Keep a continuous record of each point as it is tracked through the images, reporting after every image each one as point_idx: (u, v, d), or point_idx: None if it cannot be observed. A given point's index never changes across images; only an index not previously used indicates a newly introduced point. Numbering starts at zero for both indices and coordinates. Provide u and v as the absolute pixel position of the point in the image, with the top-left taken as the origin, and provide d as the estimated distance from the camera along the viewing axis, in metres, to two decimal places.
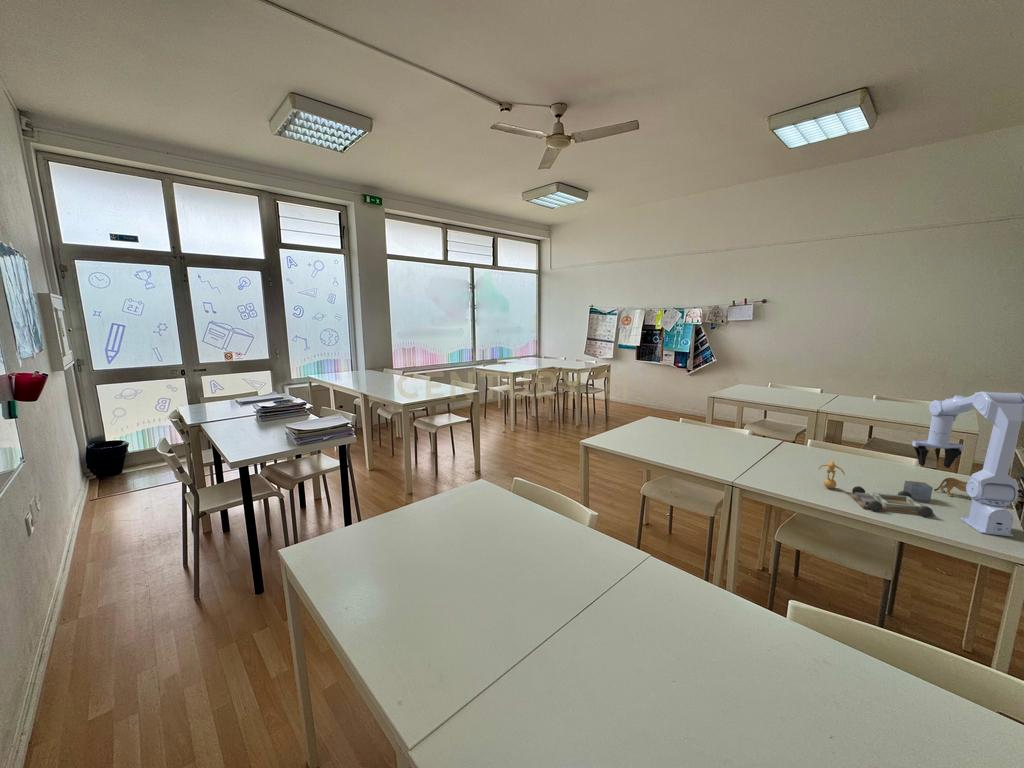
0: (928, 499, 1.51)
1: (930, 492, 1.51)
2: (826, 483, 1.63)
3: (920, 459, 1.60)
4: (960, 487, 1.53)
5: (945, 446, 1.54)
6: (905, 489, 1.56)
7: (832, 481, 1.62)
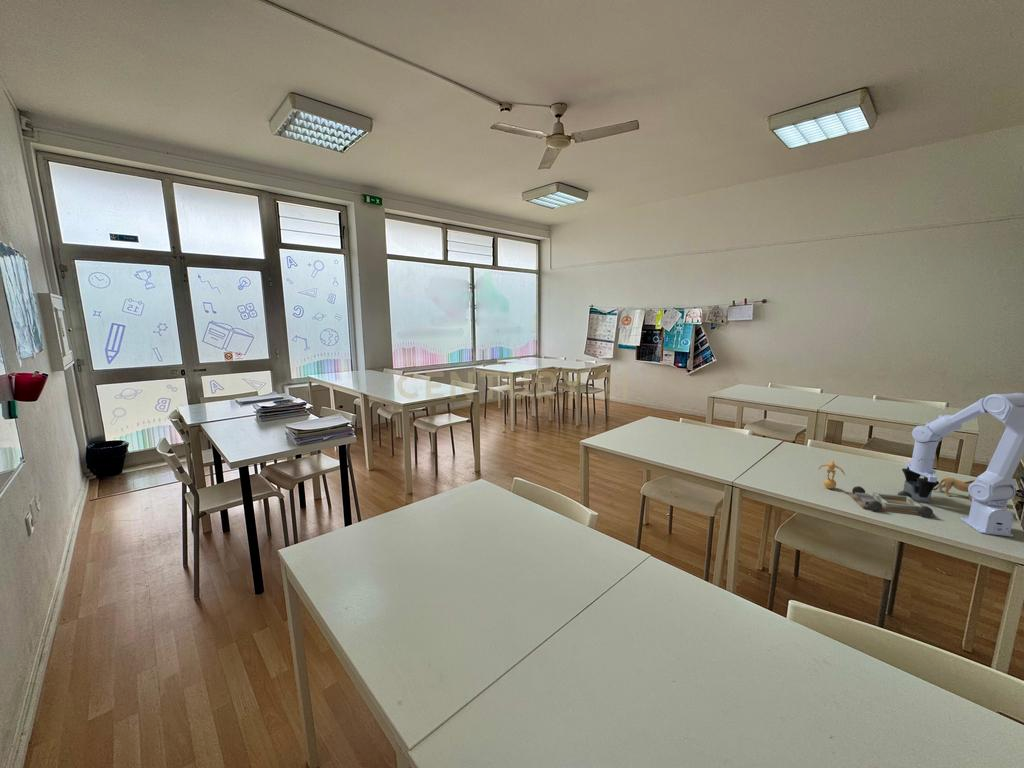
0: (928, 499, 1.51)
1: (930, 492, 1.51)
2: (826, 483, 1.63)
3: None
4: (958, 487, 1.54)
5: (912, 470, 1.52)
6: (905, 489, 1.56)
7: (832, 481, 1.62)
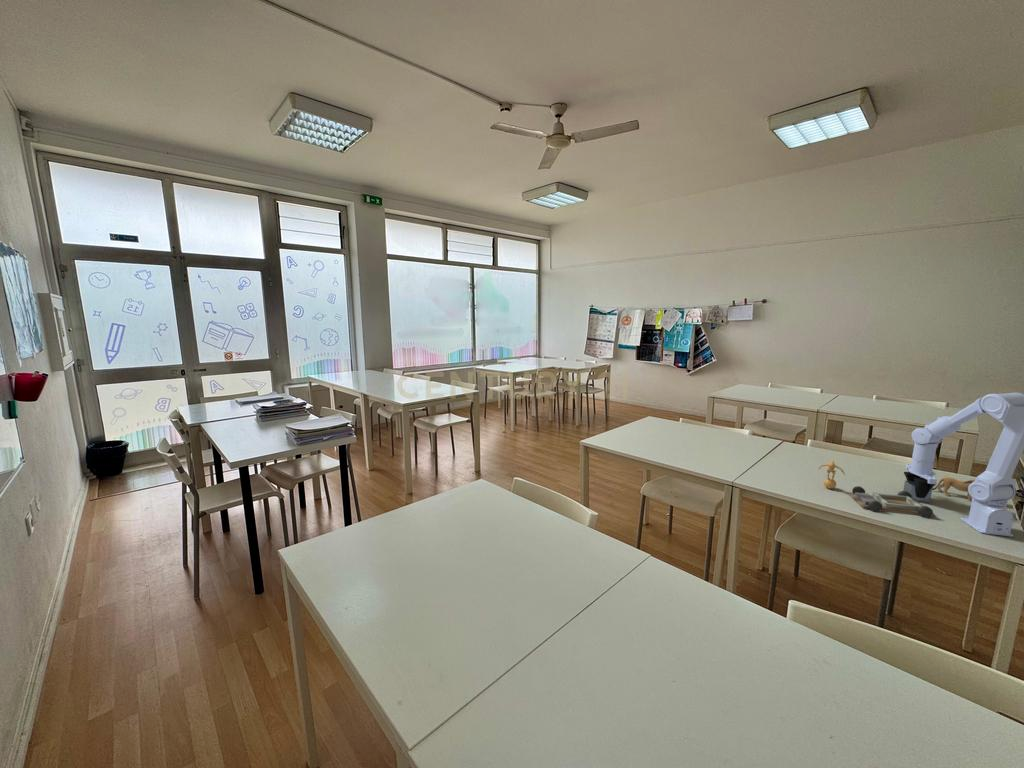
0: (928, 499, 1.51)
1: (930, 492, 1.51)
2: (826, 483, 1.63)
3: None
4: (957, 486, 1.54)
5: (912, 472, 1.52)
6: (905, 489, 1.56)
7: (832, 481, 1.62)
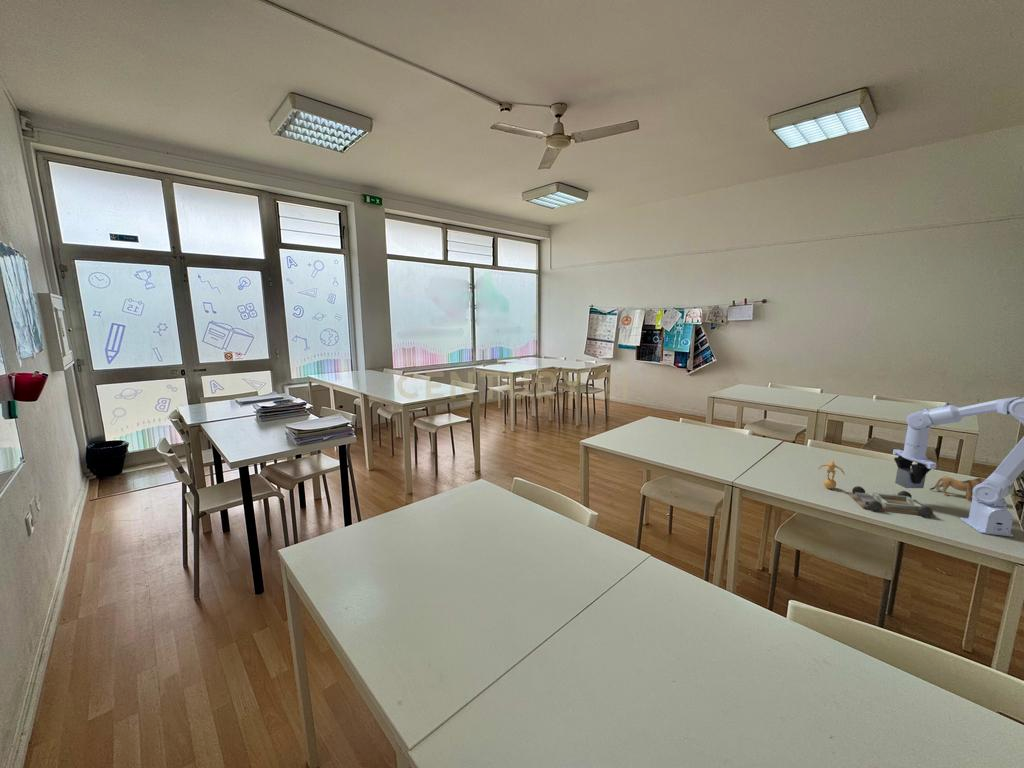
0: (922, 484, 1.48)
1: (924, 478, 1.47)
2: (826, 483, 1.63)
3: None
4: (956, 486, 1.54)
5: (907, 457, 1.48)
6: (899, 476, 1.51)
7: (832, 481, 1.62)
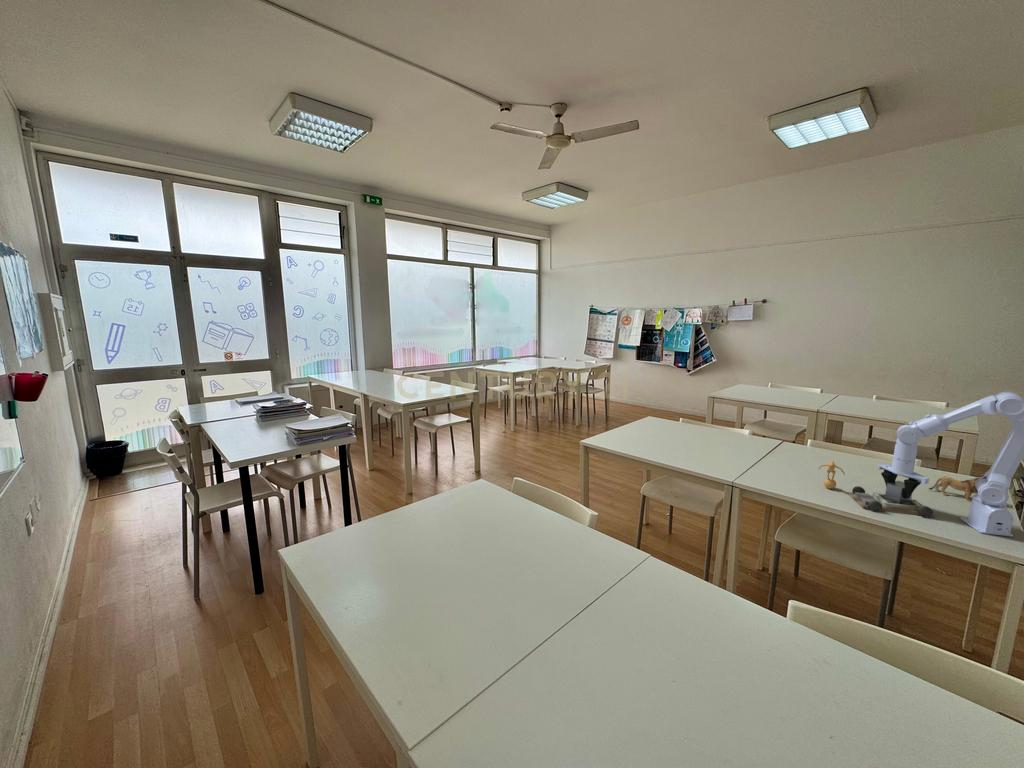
0: (910, 498, 1.47)
1: None
2: (826, 483, 1.63)
3: None
4: (955, 486, 1.55)
5: (899, 473, 1.45)
6: (889, 492, 1.48)
7: (832, 481, 1.62)
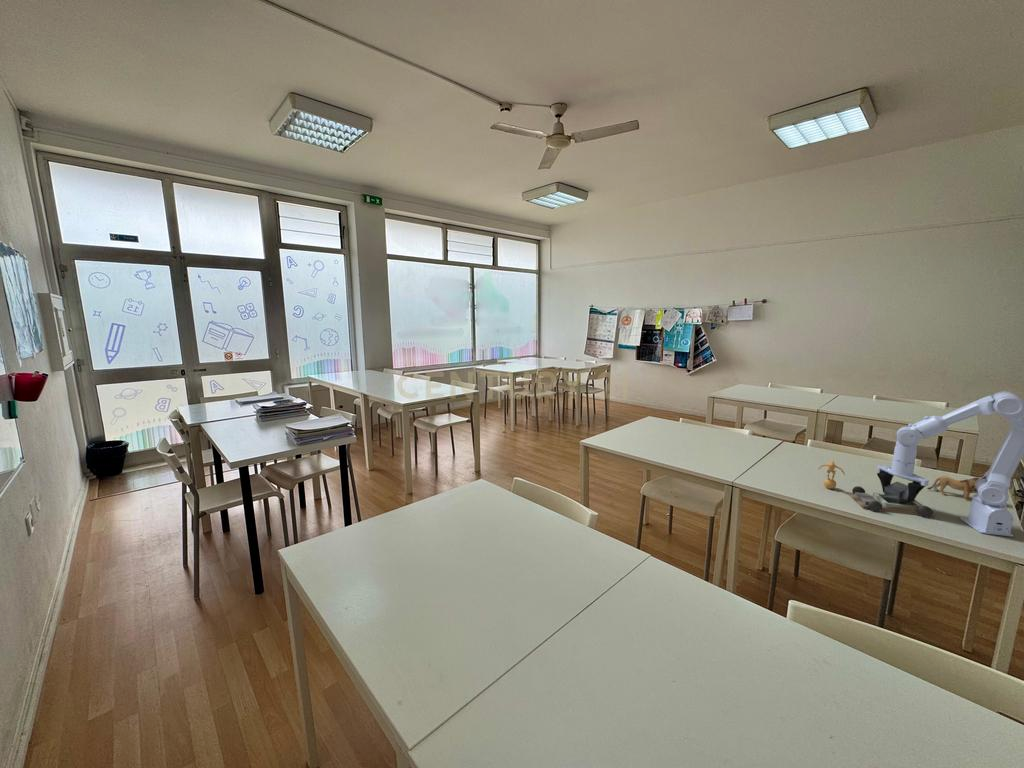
0: None
1: None
2: (826, 483, 1.63)
3: None
4: (953, 485, 1.55)
5: (898, 475, 1.45)
6: (887, 495, 1.48)
7: (832, 481, 1.62)
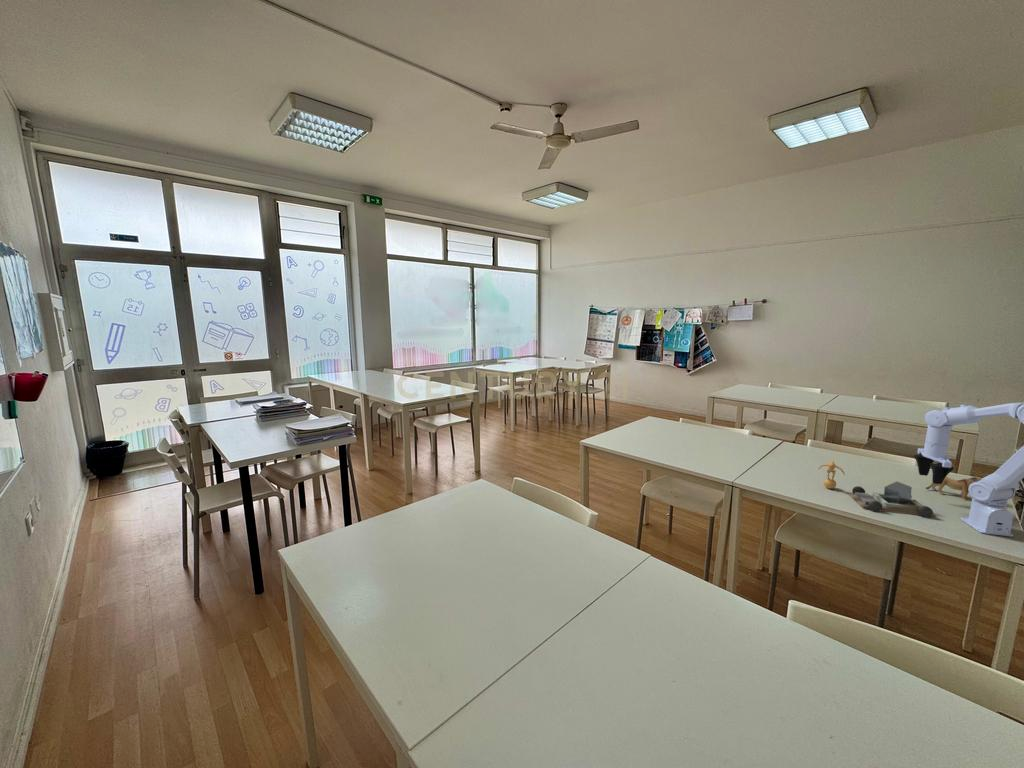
0: (909, 499, 1.47)
1: (910, 492, 1.46)
2: (826, 483, 1.63)
3: None
4: (951, 485, 1.55)
5: (925, 455, 1.47)
6: (887, 495, 1.48)
7: (832, 481, 1.62)
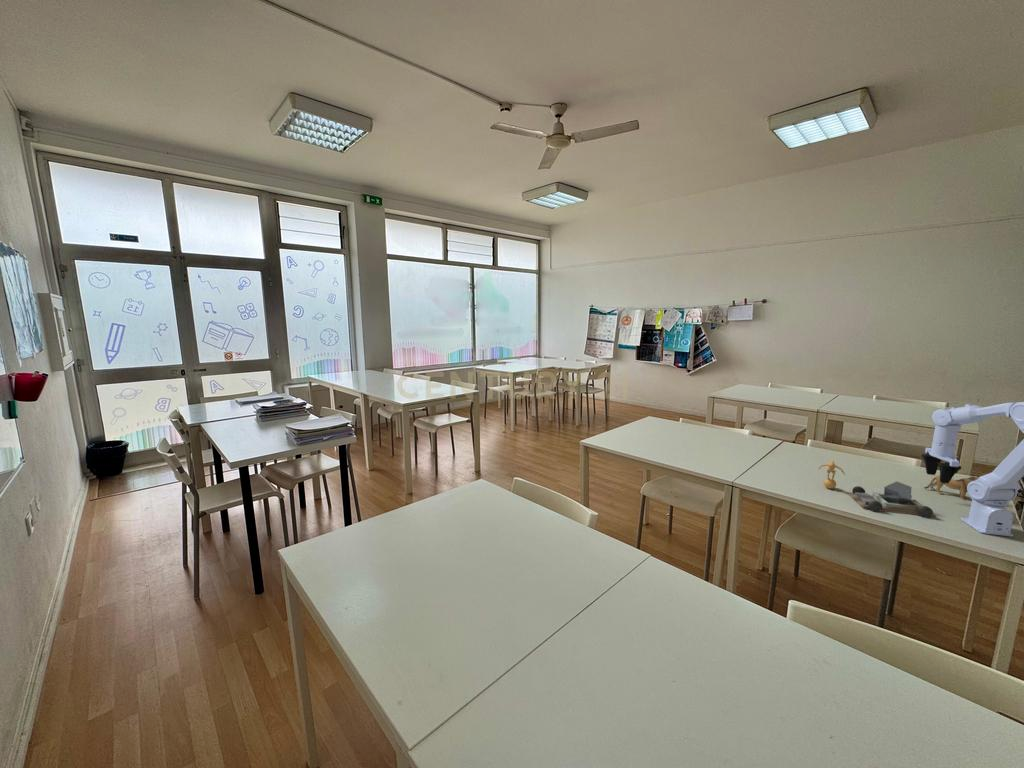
0: (909, 499, 1.47)
1: (910, 492, 1.46)
2: (826, 483, 1.63)
3: None
4: (950, 485, 1.56)
5: (933, 455, 1.48)
6: (887, 495, 1.48)
7: (832, 481, 1.62)
